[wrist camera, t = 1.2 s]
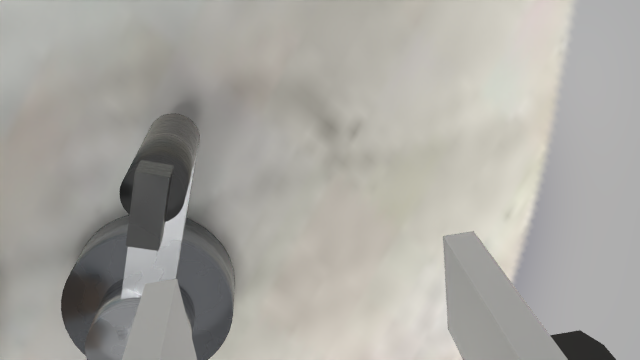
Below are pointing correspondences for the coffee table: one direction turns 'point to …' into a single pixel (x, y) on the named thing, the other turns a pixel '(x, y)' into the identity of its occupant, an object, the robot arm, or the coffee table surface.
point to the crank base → (193, 276)
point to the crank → (149, 230)
